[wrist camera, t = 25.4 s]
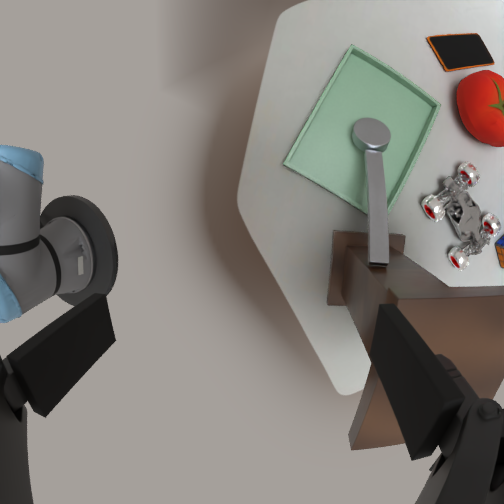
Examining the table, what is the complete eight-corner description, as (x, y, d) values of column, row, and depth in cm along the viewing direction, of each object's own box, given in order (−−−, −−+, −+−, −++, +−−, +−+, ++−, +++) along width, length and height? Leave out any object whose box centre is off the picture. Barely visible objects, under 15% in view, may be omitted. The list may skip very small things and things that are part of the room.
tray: (377, 222, 41) (383, 224, 39) (283, 164, 41) (283, 163, 38) (434, 107, 35) (441, 104, 33) (348, 50, 35) (351, 44, 32)
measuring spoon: (350, 124, 38) (352, 115, 36) (385, 128, 37) (388, 120, 35) (354, 263, 32) (357, 258, 30) (398, 267, 30) (403, 262, 29)
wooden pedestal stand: (327, 223, 42) (398, 298, 14) (408, 228, 41) (535, 292, 13) (320, 307, 46) (350, 450, 18) (396, 308, 44) (477, 424, 16)
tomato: (435, 91, 34) (466, 74, 24) (475, 73, 31) (505, 58, 21) (471, 160, 36) (507, 159, 26) (506, 136, 33) (540, 132, 23)
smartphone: (493, 64, 29) (496, 63, 29) (444, 72, 33) (447, 71, 32) (476, 33, 28) (478, 32, 27) (424, 37, 31) (426, 35, 31)
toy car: (491, 228, 38) (507, 233, 33) (452, 268, 41) (467, 277, 36) (458, 160, 37) (475, 159, 32) (416, 199, 39) (430, 201, 35)
